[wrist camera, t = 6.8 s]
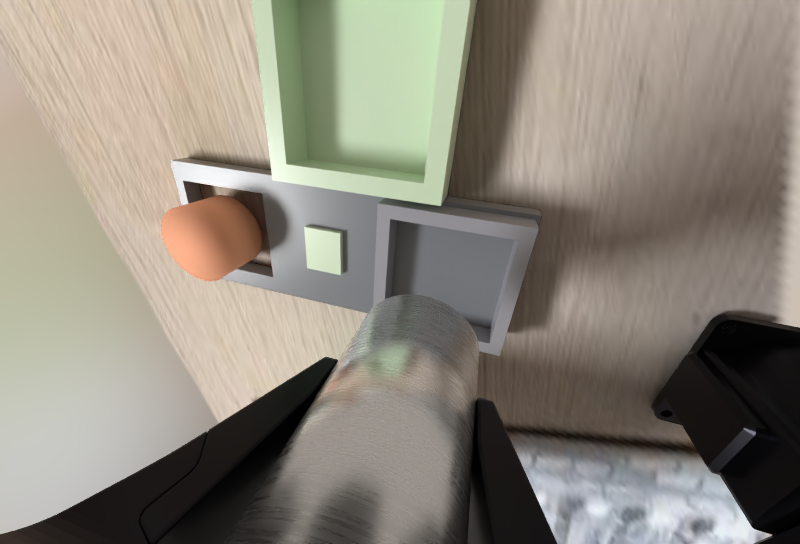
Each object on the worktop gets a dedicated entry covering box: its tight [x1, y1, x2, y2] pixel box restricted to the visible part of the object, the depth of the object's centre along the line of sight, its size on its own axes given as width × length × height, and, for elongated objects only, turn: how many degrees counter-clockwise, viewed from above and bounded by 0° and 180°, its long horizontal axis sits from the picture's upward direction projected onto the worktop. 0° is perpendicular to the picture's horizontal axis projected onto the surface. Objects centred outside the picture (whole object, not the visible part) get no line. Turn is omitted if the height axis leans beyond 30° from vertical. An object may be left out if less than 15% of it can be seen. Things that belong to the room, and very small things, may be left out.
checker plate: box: [170, 158, 542, 356], centre depth 16 cm, size 19×7×2 cm, turn 86°
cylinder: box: [161, 195, 262, 281], centre depth 17 cm, size 4×4×2 cm
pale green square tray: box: [251, 0, 477, 206], centre depth 12 cm, size 8×8×2 cm
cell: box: [224, 294, 479, 544], centre depth 7 cm, size 4×4×7 cm
